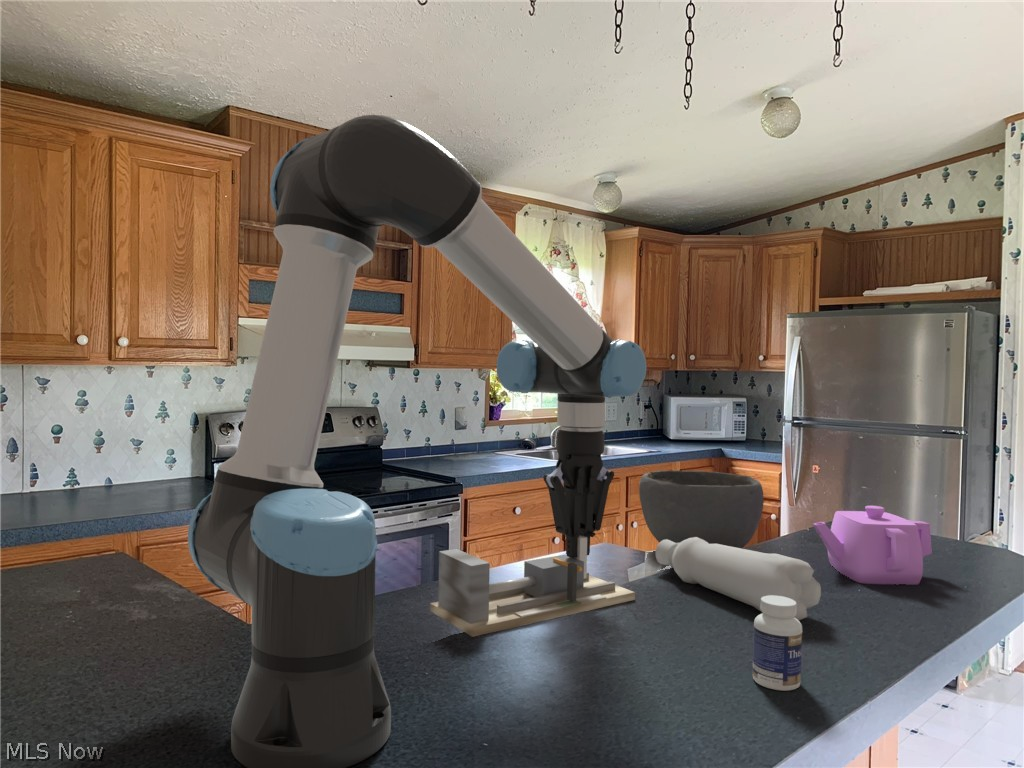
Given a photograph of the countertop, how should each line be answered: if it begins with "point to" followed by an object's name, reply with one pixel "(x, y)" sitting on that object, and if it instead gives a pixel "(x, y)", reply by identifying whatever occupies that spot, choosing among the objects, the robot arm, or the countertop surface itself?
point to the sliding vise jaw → (543, 576)
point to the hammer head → (572, 582)
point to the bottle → (742, 572)
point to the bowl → (701, 506)
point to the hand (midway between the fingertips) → (577, 576)
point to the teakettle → (876, 546)
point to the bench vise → (507, 598)
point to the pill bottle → (777, 644)
